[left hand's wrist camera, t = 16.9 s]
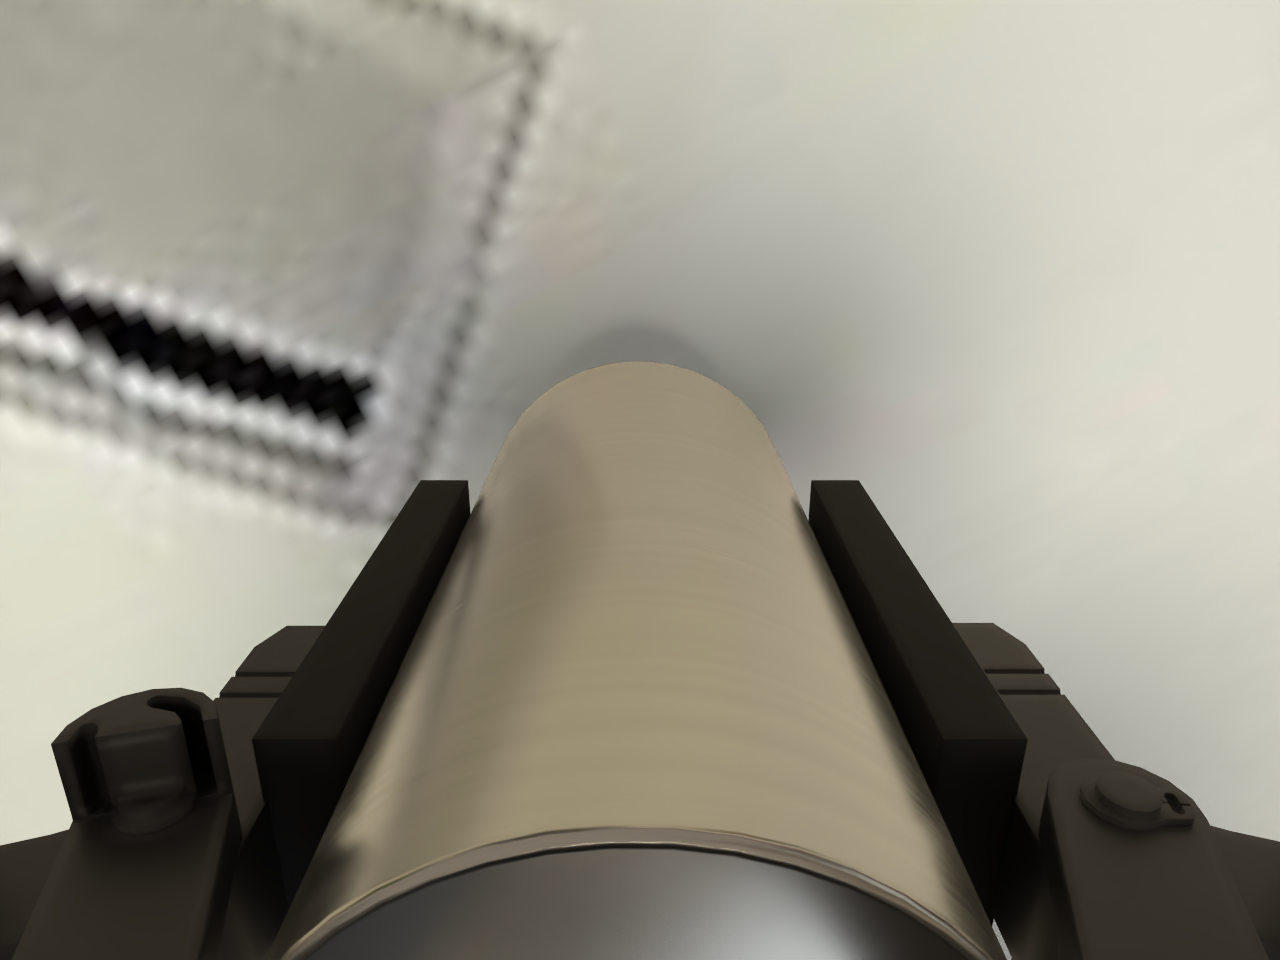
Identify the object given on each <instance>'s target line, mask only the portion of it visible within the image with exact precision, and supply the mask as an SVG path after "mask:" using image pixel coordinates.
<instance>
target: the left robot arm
mask: <svg viewBox="0 0 1280 960" xmlns="http://www.w3.org/2000/svg"><path fill="white" fill-rule="evenodd" d="M469 517H470V502H469V489H468V480H421V481H420V482H419V484H418V485H417V487H416V488H415V490H414V492H413V493H412V495H411V496H410V498H409V499H408V501H407V502H406V504H405V505H404V507H403V508H402V510H401V511H400V513H399V514H398V516H397V518H396V519H395V521H394V522H393V524H392V525H391V527H390V528H389V530H388V531H387V533H386V534H385V536H384V537H383V539H382V540H381V542H380V544H379V545H378V547H377V548H376V550H375V551H374V553H373V554H372V556H371V557H370V559H369V560H368V562H367V563H366V565H365V566H364V568H363V570H362V571H361V573H360V574H359V576H358V577H357V579H356V580H355V582H354V583H353V585H352V586H351V588H350V589H349V591H348V592H347V594H346V596H345V597H344V599H343V600H342V602H341V603H340V605H339V606H338V608H337V609H336V611H335V612H334V614H333V615H332V617H331V618H330V620H329V622H328V623H327V625H326V626H286V627H284V628H283V629H281V630H280V631H278V632H277V633H275V634H274V635H272V636H271V637H269V638H268V639H266V640H265V641H263V642H262V643H260V644H259V645H257V646H256V647H254V649H253V650H252V651H251V653H250V654H249V655H248V656H247V658H246V659H245V660H244V662H243V663H242V664H241V666H240V667H239V668H238V670H237V671H236V675H235V677H231V679H230V680H229V681H228V683H227V684H226V685H225V686H224V688H223V689H222V690H221V692H220V697H219V698H215V699H214V701H213V700H211V699H210V698H209V697H208V696H206V695H205V694H204V693H202V692H198V691H193V690H188V689H184V688H168V689H152V690H147V691H143V692H139V693H135V694H130V695H126V696H122V697H119V698H117V699H115V700H112V701H110V702H108V703H105V704H103V705H100V706H98V707H96V708H93V709H91V710H90V711H88V712H87V713H85V714H84V715H82V716H81V717H79V718H78V719H76V720H75V721H73V722H72V723H70V724H69V725H67V726H66V727H65V728H64V730H63V731H62V732H61V733H60V734H59V735H58V737H57V738H56V739H55V740H54V741H53V742H52V744H51V746H52V749H53V753H54V756H55V760H56V763H57V766H58V770H59V773H60V777H61V780H62V784H63V787H64V790H65V794H66V797H67V801H68V804H69V808H70V811H71V815H72V818H73V822H72V824H71V826H70V829H69V830H65V831H62V832H58V833H55V834H51V835H47V836H42V837H38V838H33V839H29V840H24V841H20V842H15V843H10V844H6V845H1V846H0V960H266V958H267V956H268V954H269V952H270V950H271V948H272V945H273V943H274V941H275V939H276V937H277V935H278V932H279V930H280V928H281V926H282V924H283V922H284V919H285V917H286V915H287V913H288V911H289V908H290V906H291V904H292V902H293V900H294V898H295V895H296V893H297V891H298V889H299V887H300V885H301V882H302V880H303V878H304V876H305V874H306V871H307V869H308V867H309V865H310V863H311V861H312V858H313V856H314V854H315V852H316V850H317V848H318V845H319V843H320V841H321V839H322V837H323V835H324V832H325V830H326V828H327V826H328V824H329V821H330V819H331V817H332V815H333V813H334V811H335V808H336V806H337V804H338V802H339V800H340V798H341V795H342V793H343V791H344V789H345V787H346V784H347V782H348V780H349V778H350V776H351V774H352V771H353V769H354V767H355V765H356V763H357V761H358V758H359V756H360V754H361V752H362V750H363V748H364V745H365V743H366V741H367V739H368V737H369V734H370V732H371V730H372V728H373V726H374V724H375V721H376V719H377V717H378V715H379V713H380V711H381V708H382V706H383V704H384V702H385V700H386V697H387V695H388V693H389V691H390V689H391V687H392V684H393V682H394V680H395V678H396V676H397V674H398V671H399V669H400V667H401V665H402V663H403V660H404V658H405V656H406V654H407V652H408V650H409V647H410V645H411V643H412V641H413V639H414V637H415V634H416V632H417V630H418V628H419V626H420V624H421V621H422V619H423V617H424V615H425V613H426V610H427V608H428V606H429V604H430V602H431V600H432V597H433V595H434V593H435V591H436V589H437V587H438V584H439V582H440V580H441V578H442V576H443V573H444V571H445V569H446V567H447V565H448V563H449V560H450V558H451V556H452V554H453V552H454V550H455V547H456V545H457V543H458V541H459V539H460V537H461V534H462V532H463V530H464V528H465V526H466V523H467V521H468V519H469ZM808 522H809V524H810V526H811V528H812V530H813V533H814V535H815V537H816V539H817V541H818V544H819V546H820V548H821V550H822V552H823V555H824V557H825V559H826V561H827V564H828V566H829V568H830V570H831V572H832V575H833V577H834V579H835V581H836V583H837V586H838V588H839V590H840V592H841V594H842V597H843V599H844V601H845V603H846V606H847V608H848V610H849V612H850V614H851V617H852V619H853V621H854V623H855V625H856V628H857V630H858V632H859V634H860V636H861V639H862V641H863V643H864V645H865V648H866V650H867V652H868V654H869V656H870V659H871V661H872V663H873V665H874V667H875V670H876V672H877V674H878V676H879V678H880V681H881V683H882V685H883V687H884V690H885V692H886V694H887V696H888V698H889V701H890V703H891V705H892V707H893V709H894V712H895V714H896V716H897V718H898V720H899V723H900V725H901V727H902V729H903V731H904V734H905V736H906V738H907V740H908V743H909V745H910V747H911V749H912V751H913V754H914V756H915V758H916V760H917V762H918V765H919V767H920V769H921V771H922V773H923V776H924V778H925V780H926V782H927V785H928V787H929V789H930V791H931V793H932V796H933V798H934V800H935V802H936V804H937V807H938V809H939V811H940V813H941V815H942V818H943V820H944V822H945V824H946V827H947V829H948V831H949V833H950V835H951V838H952V840H953V842H954V844H955V846H956V849H957V851H958V853H959V855H960V857H961V860H962V862H963V864H964V866H965V869H966V871H967V873H968V875H969V877H970V880H971V882H972V884H973V886H974V888H975V891H976V893H977V895H978V897H979V899H980V902H981V904H982V906H983V908H984V911H985V913H986V915H987V917H988V919H989V922H990V924H991V926H992V924H993V918H994V919H995V921H996V924H997V926H998V928H999V930H1000V932H1001V934H1002V937H1003V939H1004V941H1005V943H1006V945H1007V948H1008V950H1009V952H1010V954H1011V956H1012V960H1280V842H1278V841H1274V840H1269V839H1264V838H1260V837H1255V836H1250V835H1246V834H1241V833H1237V832H1232V831H1228V830H1224V829H1221V828H1217V827H1214V826H1210V825H1209V823H1208V820H1207V819H1206V817H1205V816H1204V814H1203V813H1202V812H1201V810H1200V809H1199V808H1198V806H1197V805H1196V803H1195V802H1194V801H1193V799H1191V798H1190V797H1189V796H1188V795H1186V794H1185V793H1184V792H1182V791H1181V790H1180V789H1178V788H1177V787H1176V786H1175V785H1173V784H1172V783H1171V782H1169V781H1167V780H1165V779H1163V778H1161V777H1159V776H1157V775H1155V774H1153V773H1151V772H1149V771H1147V770H1145V769H1142V768H1140V767H1137V766H1133V765H1129V764H1125V763H1122V762H1118V761H1115V760H1114V758H1113V757H1112V756H1111V755H1110V753H1109V752H1108V751H1107V749H1106V748H1105V747H1104V745H1103V744H1102V743H1101V742H1100V740H1099V739H1098V738H1097V736H1096V735H1095V734H1094V733H1093V731H1092V730H1091V729H1090V727H1089V726H1088V725H1087V724H1086V722H1085V721H1084V720H1083V718H1082V717H1081V716H1080V714H1079V713H1078V712H1077V711H1076V709H1075V708H1074V707H1073V705H1072V704H1071V703H1070V702H1069V700H1068V699H1067V698H1066V696H1065V695H1061V694H1060V689H1059V687H1058V686H1057V685H1056V683H1055V682H1054V681H1053V680H1052V678H1051V677H1050V676H1049V674H1045V673H1044V668H1043V667H1042V665H1041V664H1040V663H1039V661H1038V660H1037V659H1036V658H1035V656H1034V655H1033V654H1032V652H1031V651H1030V650H1029V648H1028V647H1027V646H1026V645H1025V644H1024V643H1023V642H1021V641H1020V640H1018V639H1016V638H1015V637H1013V636H1012V635H1010V634H1009V633H1007V632H1006V631H1004V630H1003V629H1001V628H1000V627H998V626H997V625H995V624H994V623H952V622H951V621H950V619H949V618H948V616H947V615H946V613H945V612H944V610H943V609H942V607H941V606H940V604H939V603H938V601H937V600H936V598H935V596H934V595H933V593H932V592H931V590H930V589H929V587H928V586H927V584H926V583H925V581H924V580H923V578H922V577H921V575H920V574H919V572H918V570H917V569H916V567H915V566H914V564H913V563H912V561H911V560H910V558H909V557H908V555H907V554H906V552H905V551H904V549H903V548H902V546H901V544H900V543H899V541H898V540H897V538H896V537H895V535H894V534H893V532H892V531H891V529H890V528H889V526H888V525H887V523H886V521H885V520H884V518H883V517H882V515H881V514H880V512H879V511H878V509H877V508H876V506H875V505H874V503H873V502H872V500H871V499H870V497H869V495H868V494H867V492H866V491H865V489H864V488H863V486H862V485H861V483H860V482H859V480H812V481H811V494H810V508H809V521H808Z"/></svg>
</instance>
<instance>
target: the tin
mask: <svg viewBox="0 0 1280 960" xmlns="http://www.w3.org/2000/svg"><path fill="white" fill-rule="evenodd" d="M266 960H1007V959H1006V957H1005V955H1004V952H1003V950H1002V948H1001V946H1000V944H999V941H998V939H997V937H996V935H995V933H994V930H993V928H992V926H991V924H990V922H989V919H988V917H987V915H986V913H985V911H984V908H983V906H982V904H981V902H980V899H979V897H978V895H977V893H976V891H975V888H974V886H973V884H972V882H971V880H970V877H969V875H968V873H967V871H966V869H965V866H964V864H963V862H962V860H961V857H960V855H959V853H958V851H957V849H956V846H955V844H954V842H953V840H952V838H951V835H950V833H949V831H948V829H947V827H946V824H945V822H944V820H943V818H942V815H941V813H940V811H939V809H938V807H937V804H936V802H935V800H934V798H933V796H932V793H931V791H930V789H929V787H928V785H927V782H926V780H925V778H924V776H923V773H922V771H921V769H920V767H919V765H918V762H917V760H916V758H915V756H914V754H913V751H912V749H911V747H910V745H909V743H908V740H907V738H906V736H905V734H904V731H903V729H902V727H901V725H900V723H899V720H898V718H897V716H896V714H895V712H894V709H893V707H892V705H891V703H890V701H889V698H888V696H887V694H886V692H885V690H884V687H883V685H882V683H881V681H880V678H879V676H878V674H877V672H876V670H875V667H874V665H873V663H872V661H871V659H870V656H869V654H868V652H867V650H866V648H865V645H864V643H863V641H862V639H861V636H860V634H859V632H858V630H857V628H856V625H855V623H854V621H853V619H852V617H851V614H850V612H849V610H848V608H847V606H846V603H845V601H844V599H843V597H842V594H841V592H840V590H839V588H838V586H837V583H836V581H835V579H834V577H833V575H832V572H831V570H830V568H829V566H828V564H827V561H826V559H825V557H824V555H823V552H822V550H821V548H820V546H819V544H818V541H817V539H816V537H815V535H814V533H813V530H812V528H811V526H810V524H809V522H808V519H807V517H806V515H805V513H804V510H803V508H802V506H801V504H800V502H799V499H798V497H797V495H796V493H795V491H794V488H793V486H792V484H791V482H790V480H789V477H788V475H787V473H786V471H785V469H784V466H783V464H782V462H781V460H780V457H779V455H778V453H777V451H776V449H775V446H774V444H773V443H772V441H771V439H770V437H769V435H768V433H767V431H766V429H765V428H764V427H763V425H762V424H761V422H760V421H759V420H758V418H757V417H756V416H755V414H754V413H753V412H752V411H751V410H750V409H749V408H748V407H747V406H746V405H745V404H744V403H743V402H742V401H741V400H740V399H739V398H738V397H736V396H735V395H734V394H733V393H731V392H730V391H729V390H728V389H726V388H725V387H723V386H722V385H720V384H718V383H716V382H715V381H713V380H711V379H710V378H708V377H705V376H703V375H701V374H698V373H696V372H694V371H691V370H688V369H685V368H681V367H678V366H674V365H670V364H663V363H656V362H636V361H629V362H621V363H612V364H607V365H603V366H599V367H595V368H591V369H588V370H586V371H583V372H580V373H578V374H575V375H573V376H571V377H569V378H567V379H565V380H563V381H562V382H560V383H558V384H556V385H554V386H553V387H552V388H550V389H549V390H548V391H546V392H545V393H544V394H542V395H541V396H540V397H538V398H537V399H536V400H535V401H534V402H533V403H532V404H531V405H530V406H529V407H528V408H527V409H526V410H525V411H524V412H523V414H522V415H521V416H520V418H519V419H518V420H517V422H516V423H515V424H514V425H513V427H512V429H511V431H510V432H509V434H508V436H507V438H506V439H505V441H504V443H503V445H502V447H501V450H500V452H499V454H498V456H497V458H496V460H495V463H494V465H493V467H492V469H491V471H490V473H489V476H488V478H487V480H486V482H485V484H484V486H483V489H482V491H481V493H480V495H479V497H478V500H477V502H476V504H475V506H474V508H473V510H472V513H471V515H470V517H469V519H468V521H467V523H466V526H465V528H464V530H463V532H462V534H461V537H460V539H459V541H458V543H457V545H456V547H455V550H454V552H453V554H452V556H451V558H450V560H449V563H448V565H447V567H446V569H445V571H444V573H443V576H442V578H441V580H440V582H439V584H438V587H437V589H436V591H435V593H434V595H433V597H432V600H431V602H430V604H429V606H428V608H427V610H426V613H425V615H424V617H423V619H422V621H421V624H420V626H419V628H418V630H417V632H416V634H415V637H414V639H413V641H412V643H411V645H410V647H409V650H408V652H407V654H406V656H405V658H404V660H403V663H402V665H401V667H400V669H399V671H398V674H397V676H396V678H395V680H394V682H393V684H392V687H391V689H390V691H389V693H388V695H387V697H386V700H385V702H384V704H383V706H382V708H381V711H380V713H379V715H378V717H377V719H376V721H375V724H374V726H373V728H372V730H371V732H370V734H369V737H368V739H367V741H366V743H365V745H364V748H363V750H362V752H361V754H360V756H359V758H358V761H357V763H356V765H355V767H354V769H353V771H352V774H351V776H350V778H349V780H348V782H347V784H346V787H345V789H344V791H343V793H342V795H341V798H340V800H339V802H338V804H337V806H336V808H335V811H334V813H333V815H332V817H331V819H330V821H329V824H328V826H327V828H326V830H325V832H324V835H323V837H322V839H321V841H320V843H319V845H318V848H317V850H316V852H315V854H314V856H313V858H312V861H311V863H310V865H309V867H308V869H307V871H306V874H305V876H304V878H303V880H302V882H301V885H300V887H299V889H298V891H297V893H296V895H295V898H294V900H293V902H292V904H291V906H290V908H289V911H288V913H287V915H286V917H285V919H284V922H283V924H282V926H281V928H280V930H279V932H278V935H277V937H276V939H275V941H274V943H273V945H272V948H271V950H270V952H269V954H268V956H267V958H266Z"/></svg>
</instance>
